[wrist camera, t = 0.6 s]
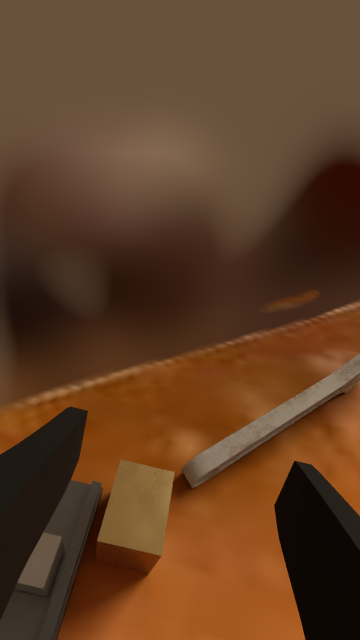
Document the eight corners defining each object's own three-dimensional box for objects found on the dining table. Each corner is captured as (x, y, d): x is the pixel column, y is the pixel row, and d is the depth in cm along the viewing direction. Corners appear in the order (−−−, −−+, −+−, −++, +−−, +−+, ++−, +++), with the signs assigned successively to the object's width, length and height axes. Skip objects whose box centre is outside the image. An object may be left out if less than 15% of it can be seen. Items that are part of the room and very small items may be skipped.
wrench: (177, 483, 31) (362, 365, 44) (187, 501, 30) (373, 375, 43) (186, 451, 25) (397, 326, 38) (198, 472, 24) (411, 337, 37)
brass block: (148, 574, 23) (161, 555, 19) (95, 561, 23) (97, 540, 19) (161, 500, 27) (174, 472, 23) (115, 489, 27) (120, 459, 23)
